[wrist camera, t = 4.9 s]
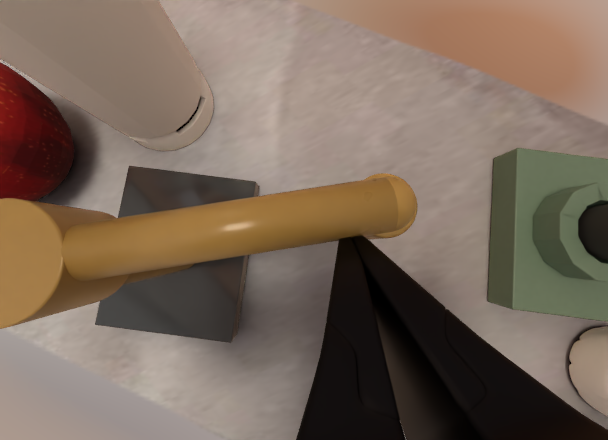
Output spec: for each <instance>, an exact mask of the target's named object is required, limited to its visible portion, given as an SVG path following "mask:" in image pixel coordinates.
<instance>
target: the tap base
mask: <svg viewBox="0 0 608 440" xmlns="http://www.w3.org/2000/svg"><path fill="white" fill-rule="evenodd" d="M258 193H259V186H258V184H257V183H256V182H254V181H246V180H238V179H230V178H222V177H214V176H206V175H198V174H190V173H182V172H174V171H166V170H159V169H151V168H143V167H135V166H129V169H128V173H127V178H126V183H125V187H124V192H123V197H122V201H121V206H120V211H119V215H118V218H120V217H127V216H133V215H140V214H146V213H153V212H159V211H166V210H172V209H179V208H185V207H192V206H198V205H205V204H211V203H218V202H224V201H231V200H237V199H244V198H250V197H257V196H258ZM248 259H249V255H245V256H238V257H232V258H226V259H219V260H213V261H207V262H201V263H194V264H188V265H182V266H176V267H169V268H163V269H157V270H150V271H144V272H138V273H132V274H129V276H128V278H127V280H126V281H125V282H124V284H123V285H122V286H121V287H120V288H119V289H118V290H117V291H116V292H115V293H113V294H112V295H110V296H109V297H107V298H105V299H103V300H101V301H100V304H99V309H98V313H97V318H96V323H95V325H102V326H109V327H117V328H124V329H132V330H139V331H147V332H155V333H162V334H170V335H177V336H185V337H193V338H200V339H208V340H215V341H223V342H232V341H233V339H234V338H235V336H236V335H237V332H238V325H239V318H240V312H241V305H242V299H243V292H244V285H245V279H246V272H247V265H248Z"/></svg>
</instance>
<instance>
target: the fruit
mask: <svg viewBox="0 0 608 440" xmlns="http://www.w3.org/2000/svg"><path fill="white" fill-rule="evenodd" d="M73 156H74V145H73V140H72V136H71V131H70V128H69V126H68V125H67V123H66V121H65V120H64V118H63V116H62V115H61V113H60V112H59V110H58V108H57V107H56V106H55V105H54V103H53V102H52V101H51V100H50V99H49V98H48V97H47V96H46V95H45V94H44V93H43V92H41V91H40V90H39V89H38V88H37V87H35V86H34V85H33V84H31V83H30V82H29V81H28V80H26V79H25V78H24V77H22V76H21V75H19V74H18V73H17V72H15V71H14V70H12V69H11V68H9V67H8V66H6V65H4V64H2V63H0V199H4V198H15V199H22V200H28V201H37V200H39V199H40V198H42V197H43V196H45V195H47V194H48V193H50V192H51V191H53V190H54V189H56V188H57V187H58V185H59V184H60V183H61V182H62V181H63V180H64V179H65V178H66V176H67V174H68V172H69V170H70V168H71V166H72V163H73Z"/></svg>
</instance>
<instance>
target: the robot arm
mask: <svg viewBox="0 0 608 440" xmlns="http://www.w3.org/2000/svg"><path fill="white" fill-rule="evenodd" d="M399 421H400V422H401V423H400V422H399ZM401 425H402V426H401ZM402 428H403V430H402ZM403 431H404V433H403ZM404 434H405V436H406V439H407V440H608V430H607V429H605V428H604V427H602V426H600V425H599V424H597V423H595V422H594V421H592V420H591V419H589V418H588V417H586V416H584V415H583V414H581V413H580V412H578V411H577V410H576V409H574V408H573V407H571V406H570V405H569V404H567V403H566V402H565V401H563V400H562V399H561V398H559V397H558V396H557V395H555V394H554V393H553V392H551V391H550V390H549V389H547V388H546V387H545V386H543V385H542V384H541V383H539V382H538V381H537V380H535V379H534V378H533V377H531V376H530V375H529V374H527V373H526V372H525V371H524V370H522V369H521V368H520V367H518V366H517V365H516V364H514V363H513V362H512V361H510V360H509V359H508V358H506V357H505V356H504V355H502V354H501V353H500V352H499V351H497V350H496V349H495V348H493V347H492V346H491V345H490V344H488V343H487V342H486V341H484V340H483V339H482V338H481V337H479V336H478V335H477V334H476V333H475V332H473V331H472V330H471V329H470V328H469V327H467V326H466V325H465V324H464V323H463V322H462V321H460V320H459V319H458V318H457V317H456V316H455V315H453V314H452V313H451V312H450V311H449V310H446V309H445V307H444V306H443V305H442V304H441V303H440V302H439V301H437V300H436V299H435V298H434V297H433V296H432V295H431V294H429V293H428V292H427V291H426V290H425V289H424V288H423V287H421V286H420V285H419V284H418V283H417V282H416V281H415V280H413V279H412V278H411V277H410V276H409V275H408V274H407V273H405V272H404V271H403V270H402V269H401V268H400V267H399V266H397V265H396V264H395V263H394V262H393V261H392V260H391V259H390V258H388V257H387V256H386V255H385V254H384V253H383V252H382V251H380V250H379V249H378V248H377V247H376V246H375V245H374V244H372V243H371V242H370V241H369V240H368V239H367V238H366V237H364V236H363V235H361V236H354V237H352V238H351V237H346V238H340V239H339V243H338V250H337V256H336V263H335V269H334V275H333V282H332V288H331V295H330V301H329V308H328V314H327V323H326V326H325V332H324V338H323V343H322V349H321V354H320V358H319V362H318V366H317V369H316V373H315V377H314V380H313V384H312V387H311V391H310V394H309V398H308V401H307V404H306V408H305V411H304V415H303V418H302V421H301V425H300V428H299V432H298V435H297V438H296V440H405V437H404Z"/></svg>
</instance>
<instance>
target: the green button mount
mask: <svg viewBox="0 0 608 440" xmlns="http://www.w3.org/2000/svg"><path fill="white" fill-rule="evenodd" d="M607 204H608V159H603V158H595V157H587V156H578V155H570V154H562V153H554V152H546V151H538V150H530V149H522V148H516V149H514V150H512V151H510V152H507V153H505V154H503V155H501V156H498V157H496V158H494V166H493V190H492V214H491V238H490V262H489V286H488V301H489V302H491V303H494V304H498V305H501V306H504V307H507V308H510V309H514V310H522V311H530V312H537V313H545V314H553V315H561V316H568V317H576V318H584V319H591V320H599V321H607V322H608V260H605V259H600V258H597V257H594V256H592V255H591V254H589V253H588V252H587V251H586V250H585V248H584V246H583V244H582V242H581V241H580V239H579V237H578V219H579V218H580V216H581V215H582V213H583V212H584V211H585V210H586V209H588V208H590V207H593V206H599V205H607Z"/></svg>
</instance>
